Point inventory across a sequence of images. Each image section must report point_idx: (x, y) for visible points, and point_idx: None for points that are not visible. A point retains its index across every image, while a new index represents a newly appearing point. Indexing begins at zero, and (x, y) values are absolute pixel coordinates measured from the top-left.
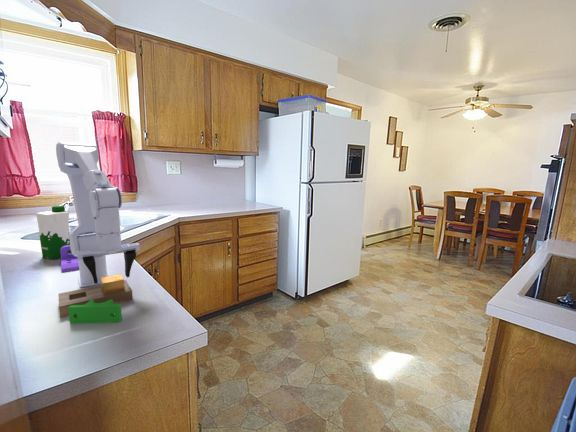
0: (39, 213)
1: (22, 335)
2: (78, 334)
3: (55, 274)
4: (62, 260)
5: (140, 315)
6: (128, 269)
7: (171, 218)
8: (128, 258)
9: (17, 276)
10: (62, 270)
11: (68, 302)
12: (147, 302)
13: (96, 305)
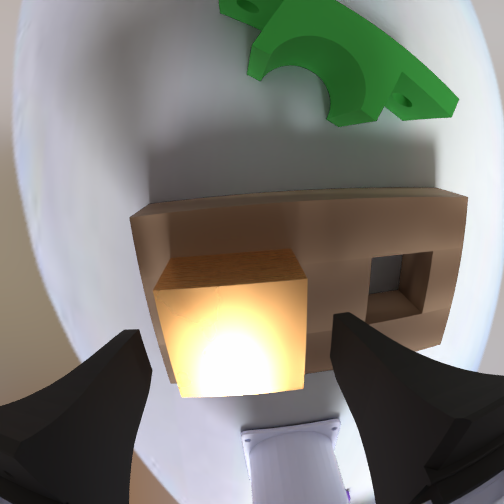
0: None
1: (499, 133)
2: (376, 8)
3: (362, 484)
4: None
5: (141, 23)
6: (100, 359)
7: None
8: (32, 424)
9: None
10: (347, 494)
11: (440, 225)
12: (90, 145)
13: (345, 18)
